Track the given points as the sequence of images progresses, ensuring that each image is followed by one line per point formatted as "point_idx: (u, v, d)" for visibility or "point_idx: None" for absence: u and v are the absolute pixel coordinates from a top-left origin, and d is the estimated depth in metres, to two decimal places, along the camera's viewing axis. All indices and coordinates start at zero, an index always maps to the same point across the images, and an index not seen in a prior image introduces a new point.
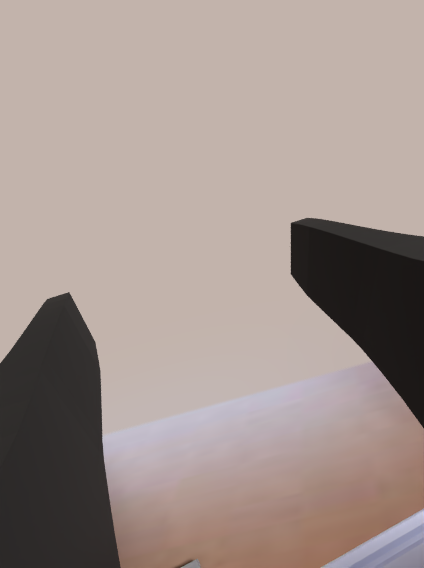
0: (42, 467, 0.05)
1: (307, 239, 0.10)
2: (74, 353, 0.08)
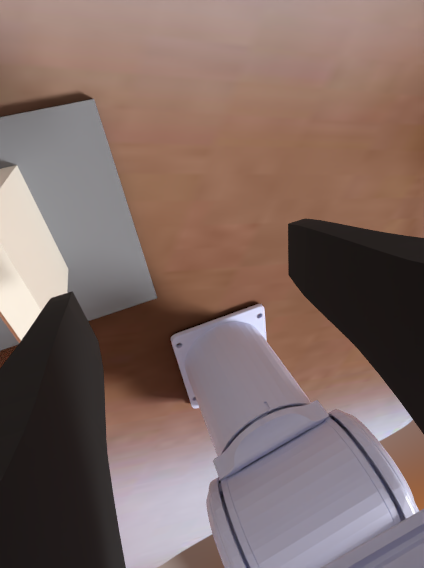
0: (49, 463, 0.05)
1: (304, 240, 0.10)
2: (78, 352, 0.08)
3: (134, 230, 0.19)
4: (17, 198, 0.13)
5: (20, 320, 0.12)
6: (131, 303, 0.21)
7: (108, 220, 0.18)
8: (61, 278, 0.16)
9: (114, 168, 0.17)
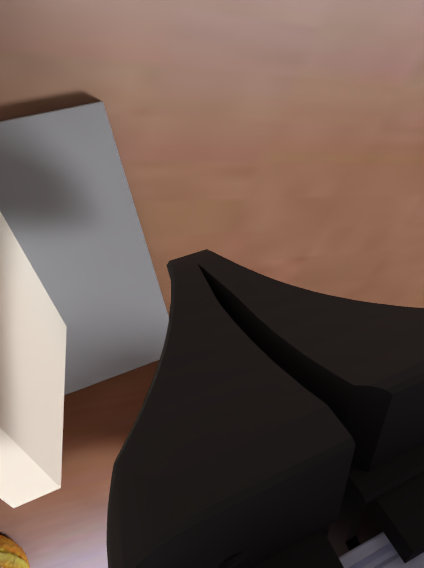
0: None
1: None
2: None
3: (153, 274, 0.14)
4: None
5: None
6: (147, 360, 0.17)
7: (120, 264, 0.13)
8: (56, 350, 0.12)
9: (129, 197, 0.12)
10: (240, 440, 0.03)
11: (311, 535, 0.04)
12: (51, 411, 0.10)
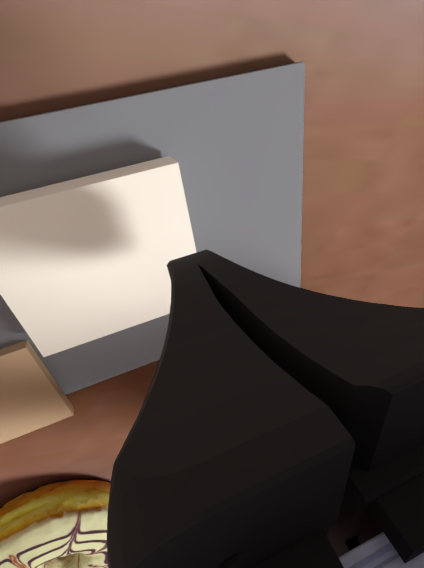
0: None
1: None
2: None
3: (300, 228, 0.16)
4: (106, 207, 0.10)
5: None
6: None
7: (278, 216, 0.15)
8: (152, 305, 0.13)
9: (301, 151, 0.14)
10: (241, 440, 0.03)
11: (311, 535, 0.04)
12: (84, 326, 0.13)
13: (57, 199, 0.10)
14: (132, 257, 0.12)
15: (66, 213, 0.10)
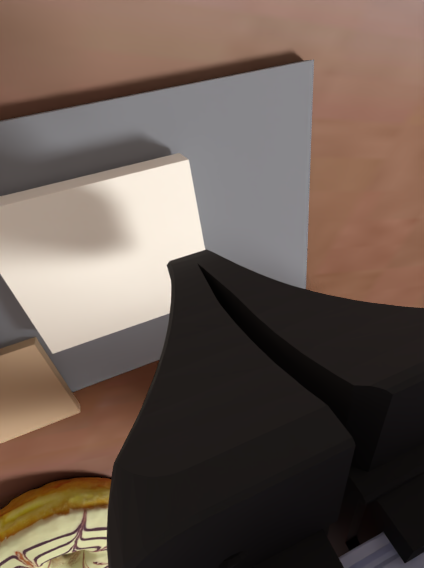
0: None
1: None
2: None
3: (306, 225, 0.16)
4: (117, 204, 0.11)
5: None
6: None
7: (285, 213, 0.15)
8: (160, 302, 0.13)
9: (309, 149, 0.14)
10: (240, 441, 0.03)
11: (311, 535, 0.04)
12: (93, 323, 0.13)
13: (69, 195, 0.10)
14: (142, 254, 0.12)
15: (77, 209, 0.10)
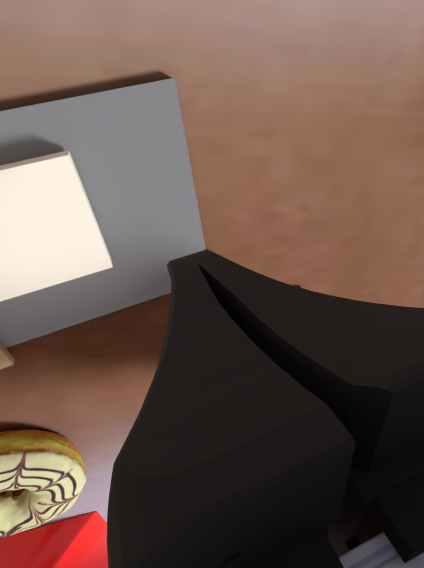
0: None
1: None
2: None
3: (197, 210, 0.19)
4: (14, 189, 0.14)
5: None
6: None
7: (174, 200, 0.18)
8: (64, 268, 0.17)
9: (185, 147, 0.17)
10: (241, 440, 0.03)
11: (311, 535, 0.04)
12: (8, 284, 0.16)
13: None
14: (41, 228, 0.15)
15: None
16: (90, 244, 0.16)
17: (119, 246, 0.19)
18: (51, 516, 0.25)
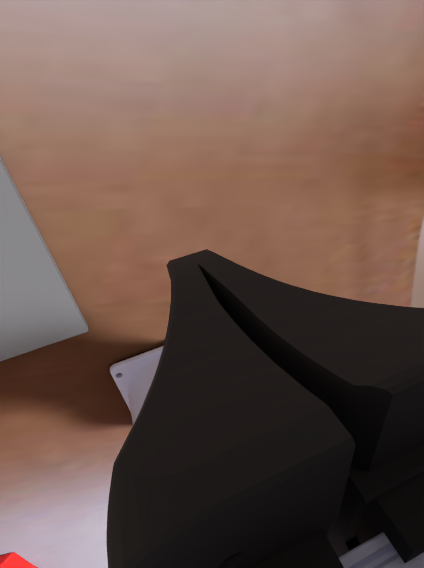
0: None
1: None
2: None
3: (53, 267, 0.18)
4: None
5: None
6: (60, 337, 0.21)
7: (22, 259, 0.17)
8: None
9: (22, 208, 0.16)
10: (241, 440, 0.03)
11: (311, 535, 0.04)
12: None
13: None
14: None
15: None
16: None
17: None
18: None
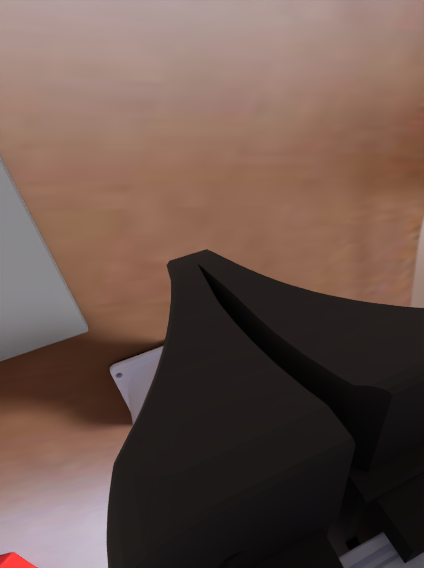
0: None
1: None
2: None
3: (53, 267, 0.18)
4: None
5: None
6: (60, 337, 0.21)
7: (22, 259, 0.17)
8: None
9: (22, 208, 0.16)
10: (241, 440, 0.03)
11: (311, 535, 0.04)
12: None
13: None
14: None
15: None
16: None
17: None
18: None
